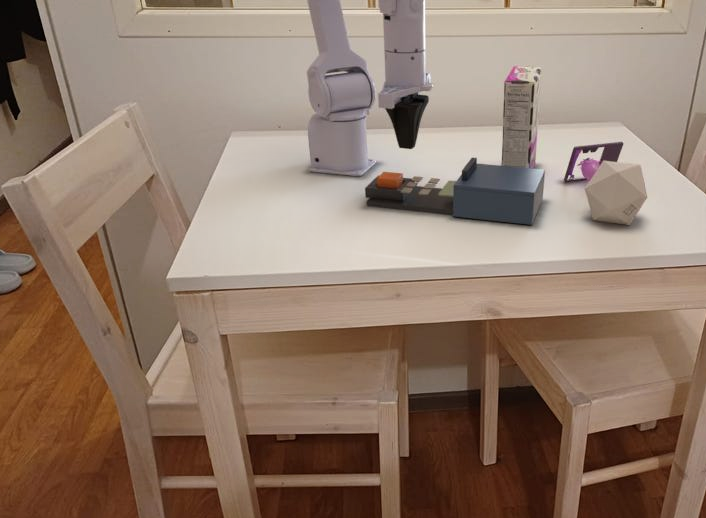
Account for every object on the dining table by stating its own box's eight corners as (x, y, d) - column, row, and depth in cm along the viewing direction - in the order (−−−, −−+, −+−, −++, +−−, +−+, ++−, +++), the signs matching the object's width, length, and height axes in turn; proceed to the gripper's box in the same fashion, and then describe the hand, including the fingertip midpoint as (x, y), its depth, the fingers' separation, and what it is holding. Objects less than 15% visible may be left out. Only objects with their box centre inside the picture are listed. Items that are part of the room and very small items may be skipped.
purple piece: (620, 138, 117) (571, 143, 114) (635, 158, 114) (585, 163, 112) (608, 172, 122) (561, 178, 120) (622, 192, 119) (574, 198, 117)
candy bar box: (507, 163, 127) (512, 65, 118) (535, 165, 127) (543, 66, 118) (498, 184, 118) (503, 79, 109) (528, 186, 117) (536, 81, 108)
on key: (377, 187, 110) (376, 178, 109) (383, 181, 113) (383, 171, 112) (397, 189, 109) (396, 180, 108) (403, 183, 112) (403, 173, 111)
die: (613, 240, 101) (663, 183, 97) (565, 199, 102) (613, 141, 98) (618, 239, 109) (665, 186, 105) (574, 201, 110) (619, 147, 106)
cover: (453, 216, 105) (453, 174, 102) (469, 192, 114) (470, 153, 110) (532, 225, 103) (535, 182, 99) (542, 199, 111) (546, 159, 108)
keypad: (400, 192, 107) (400, 191, 107) (414, 177, 113) (414, 176, 113) (453, 197, 106) (453, 196, 105) (464, 182, 111) (464, 181, 111)
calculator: (362, 206, 109) (361, 190, 108) (381, 187, 116) (380, 172, 115) (462, 217, 106) (463, 200, 105) (475, 197, 113) (476, 181, 112)
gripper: (411, 61, 93) (413, 164, 100) (449, 43, 104) (448, 137, 112) (362, 57, 95) (367, 158, 102) (404, 39, 106) (406, 132, 114)
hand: (407, 147), depth 107 cm, fingers closed
